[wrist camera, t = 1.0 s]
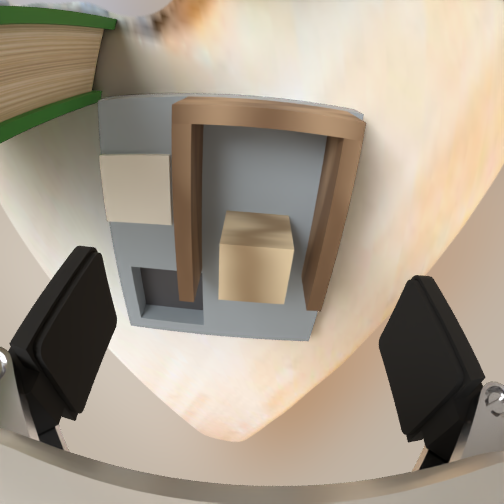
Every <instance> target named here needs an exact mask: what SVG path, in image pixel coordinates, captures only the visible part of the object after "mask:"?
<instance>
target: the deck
mask: <svg viewBox="0 0 504 504" xmlns="http://www.w3.org/2000/svg"><path fill="white" fill-rule="evenodd" d="M188 96H192V97H227V98H244V99H257V100H269V101H279V102H288V103H296V104H304V105H311V106H318V107H325V108H331V109H337V110H343V111H347V112H349V113H351V114H353V115H354V116H356V117H358V118H359V119H361V120H362V121H363V115H364V114H362V113H360V112H358V111H356V110H354V109H349V108H343V107H338V106H332V105H325V104H319V103H312V102H305V101H297V100H289V99H280V98H270V97H259V96H246V95H229V94H199V93H170V94H140V95H124V96H111V97H108V98H104V99H101V100H98V117H99V135H100V148H101V155H99V163H100V172H101V181H102V189H103V197H104V204H105V211H106V218H107V221H109V223H110V230H111V235H112V241H113V247H114V252H115V257H116V263H117V268H118V272H119V277H120V282H121V286H122V291H123V295H124V299H125V304H126V308H127V312H128V316H129V320H130V323H131V325H132V326H139V327H146V328H154V329H162V330H170V331H178V332H187V333H196V334H206V335H217V336H229V337H241V338H256V339H272V340H293V341H309V339H310V335H311V332H312V329H313V326H314V322H315V319H316V316H317V312H318V311H306V304H305V298H304V291H303V285H302V278H301V274H302V270H303V265H304V260H305V255H306V251H307V246H308V241H309V236H310V231H311V225H312V220H313V215H314V210H315V204H316V199H317V193H318V188H319V182H320V176H321V171H322V165H323V159H324V153H325V146H326V140H327V136H326V135H319V134H312V133H304V132H296V131H287V130H278V129H268V128H256V127H243V126H227V125H206V124H204V126H203V160H202V272H201V276H200V280H199V284H198V288H197V292H196V296H195V300H194V302H186V301H179V291H178V279H177V267H176V252H175V237H174V218H173V194H172V142H171V129H172V104H174V103H176V102H178V101H180V100H182V99H184V98H186V97H188ZM226 211H240V212H253V213H265V214H277V215H288V216H289V220H290V226H291V232H292V238H293V245H294V254H293V260H292V265H291V271H290V276H289V281H288V286H287V292H286V297H285V302H284V304H270V303H256V302H243V301H230V300H218V295H219V247H220V239H221V235H222V230H223V225H224V220H225V215H226Z"/></svg>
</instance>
